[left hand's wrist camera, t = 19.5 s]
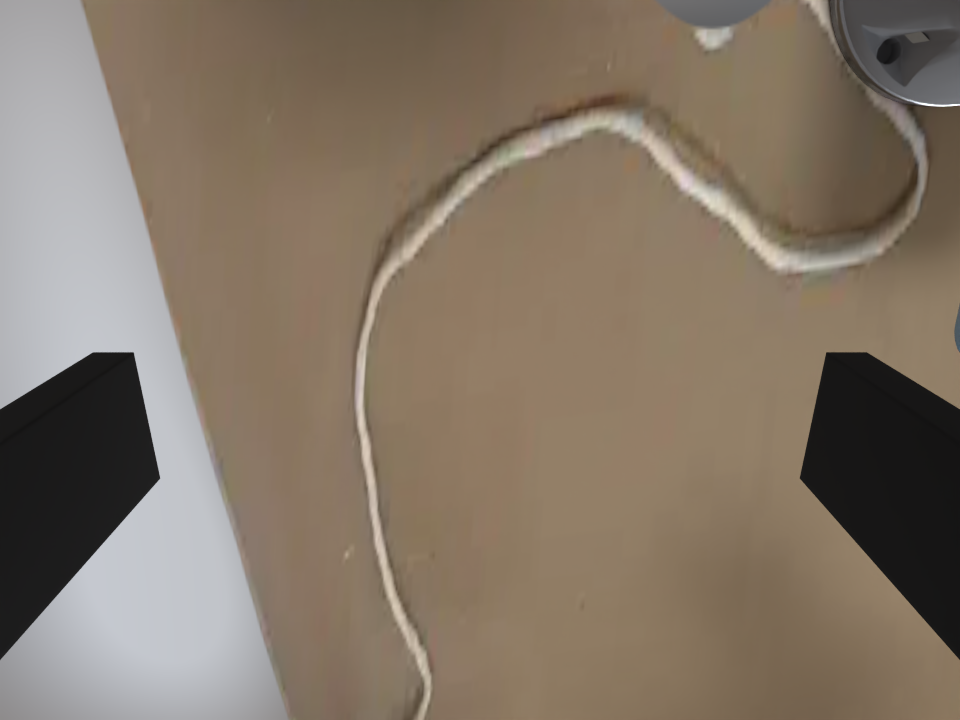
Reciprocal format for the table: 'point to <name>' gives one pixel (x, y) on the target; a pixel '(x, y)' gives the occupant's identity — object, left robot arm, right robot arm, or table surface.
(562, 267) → the table surface
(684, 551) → the table surface
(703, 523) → the table surface
